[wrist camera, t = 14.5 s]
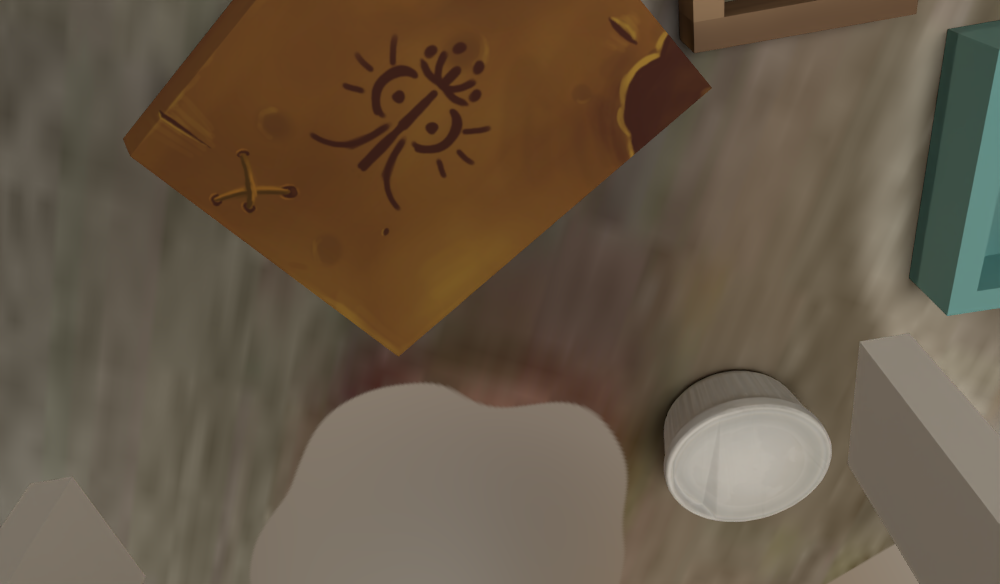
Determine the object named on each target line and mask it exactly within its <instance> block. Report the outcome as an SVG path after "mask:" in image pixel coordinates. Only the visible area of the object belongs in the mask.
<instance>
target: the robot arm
mask: <svg viewBox="0 0 1000 584" xmlns="http://www.w3.org/2000/svg"><path fill="white" fill-rule="evenodd" d="M848 466H849V467H850V469H851V471H852V472H853V474H854V476H855V477H856V479H857V481H858V482H859V484H860V486H861V487H862V489H863V491H864V492H865V494H866V496H867V497H868V499H869V501H870V502H871V504H872V506H873V507H874V509H875V511H876V512H877V514H878V516H879V517H880V519H881V521H882V522H883V524H884V526H885V527H886V529H887V531H888V532H889V534H890V536H891V537H892V539H893V541H894V542H895V544H896V546H897V547H898V549H899V551H900V552H901V554H902V556H903V557H904V559H905V561H906V562H907V564H908V566H909V567H910V569H911V571H912V572H913V574H914V576H915V577H916V579H917V581H918V582H919V584H1000V436H999V434H998V433H997V432H996V431H995V430H994V429H993V428H992V426H991V425H990V424H989V423H988V422H987V421H986V420H985V418H984V417H983V416H982V415H981V414H980V413H979V412H978V410H977V409H976V408H975V407H974V406H973V405H972V404H971V402H970V401H969V400H968V399H967V398H966V397H965V396H964V395H963V393H962V392H961V391H960V390H959V389H958V388H957V387H956V385H955V384H954V383H953V382H952V381H951V380H950V379H949V377H948V376H947V375H946V374H945V373H944V372H943V371H942V369H941V368H940V367H939V366H938V365H937V364H936V363H935V361H934V360H933V359H932V358H931V357H930V356H929V355H928V353H927V352H926V351H925V350H924V349H923V348H922V347H921V345H920V344H919V343H918V342H917V341H916V340H915V339H914V337H913V336H912V335H911V334H910V333H908V334H902V335H896V336H890V337H884V338H878V339H872V340H867V341H861V342H860V345H859V355H858V365H857V375H856V385H855V395H854V405H853V415H852V425H851V436H850V446H849V456H848ZM145 577H146V576H145V575H144V573H143V572H142V571H141V569H140V568H139V567H138V565H137V564H136V562H135V561H134V560H133V558H132V557H131V556H130V554H129V553H128V552H127V550H126V549H125V547H124V546H123V545H122V543H121V542H120V541H119V539H118V538H117V537H116V535H115V534H114V532H113V531H112V530H111V528H110V527H109V526H108V524H107V523H106V522H105V520H104V519H103V517H102V516H101V515H100V513H99V512H98V511H97V509H96V508H95V507H94V505H93V504H92V502H91V501H90V500H89V498H88V497H87V496H86V494H85V493H84V492H83V490H82V489H81V487H80V486H79V485H78V483H77V482H76V481H75V479H74V478H73V477H67V478H61V479H55V480H49V481H43V482H38V483H32V484H30V485H29V486H28V488H27V489H26V491H25V492H24V494H23V495H22V497H21V498H20V500H19V501H18V503H17V504H16V506H15V507H14V509H13V510H12V512H11V513H10V515H9V516H8V518H7V519H6V521H5V522H4V524H3V525H2V527H1V528H0V584H143V581H144V579H145Z"/></svg>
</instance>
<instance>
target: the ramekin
mask: <svg viewBox="0 0 1000 584" xmlns="http://www.w3.org/2000/svg"><path fill="white" fill-rule="evenodd" d="M664 445H665V458H664V476H665V480H666V483H667V486H668V488H669V491H670V492H671V494H672V496H673V497H674V498H675V499H676V501H678V503H679V504H680V505H682V506H683V507H684V508H685V509H687V510H689V511H690V512H692V513H694V514H696V515H699V516H701V517H704V518H707V519H712V520H716V521H726V522H742V521H750V520H755V519H760V518H764V517H768V516H771V515H774V514H776V513H779V512H781V511H783V510H785V509H787V508H789V507H791V506H793V505H795V504H796V503H798V502H799V501H801V500H802V499H804V498H805V497H806V496H807V495H809V494H810V493H811V492H812V491H813V490H814V489H815V488H816V487H817V486H818V484H819V483H820V482H821V481H822V479H823V478H824V476H825V474H826V472H827V470H828V467H829V465H830V461H831V456H832V447H831V441H830V438H829V436H828V434H827V432H826V430H825V428H824V426H823V425H822V423H821V422H820V421H819V419H818V418H817V417H816V416H815V415H814V414H813V413H811V412H810V411H809V410H807V409H806V408H805V407H804V406H803V405H802V404H801V403H800V402H799V401H798V400H797V398H796V397H795V396H794V395H793V394H792V393H791V392H790V391H789V389H788V388H787V387H785V386H784V385H782V384H781V383H780V382H779V381H777V380H775V379H774V378H772V377H769V376H767V375H765V374H761V373H757V372H750V371H728V372H722V373H718V374H714V375H711V376H709V377H706V378H704V379H702V380H700V381H698V382H696V383H695V384H693V385H692V386H690V387H689V388H688V389H686V390H685V391H684V392H683V393H682V394H681V395H680V396H679V397H678V398H677V399H676V400H675V402H674V403H673V404H672V406H671V408H670V410H669V411H668V414H667V417H666V419H665V425H664Z"/></svg>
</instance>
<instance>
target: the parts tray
mask: <svg viewBox="0 0 1000 584" xmlns="http://www.w3.org/2000/svg"><path fill="white" fill-rule="evenodd" d="M909 278H910V279H911V280H912V281H913V282H914V283H915V284H916V285H917V286H918V287H919V288H920V289H921V290H922V291H923V292H924V293H925V294H926V295H927V296H928V297H929V298H930V299H931V300H932V301H933V302H934V303H935V304H936V305H937V306H938V307H939V308H940V309H941V310H942V311H943V312H944V313H945V314H946V315H947V316H950V315H956V314H963V313H969V312H976V311H982V310H989V309H995V308H1000V20H998V21H992V22H987V23H981V24H975V25H970V26H964V27H958V28H952V29H948V33H947V39H946V45H945V52H944V58H943V64H942V71H941V77H940V84H939V90H938V96H937V103H936V109H935V116H934V122H933V128H932V135H931V141H930V147H929V154H928V160H927V167H926V173H925V179H924V186H923V192H922V199H921V205H920V211H919V218H918V224H917V230H916V237H915V243H914V250H913V256H912V262H911V269H910V275H909Z"/></svg>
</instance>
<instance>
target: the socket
mask: <svg viewBox="0 0 1000 584" xmlns="http://www.w3.org/2000/svg"><path fill="white" fill-rule="evenodd" d="M917 5H918V0H735V1H729V2H724V0H679V28H680V40H681V41H682V42H683V43H684V44H685V45H686V46H687V47H688V48H690V49H691V50H692V51H693V52H694V53H698V52H704V51H709V50H715V49H721V48H726V47H732V46H738V45H743V44H749V43H755V42H760V41H766V40H772V39H777V38H783V37H789V36H794V35H800V34H806V33H811V32H817V31H822V30H828V29H834V28H839V27H845V26H851V25H856V24H862V23H868V22H873V21H879V20H885V19H890V18H896V17H902V16H907V15H913V14H916V12H917Z"/></svg>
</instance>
